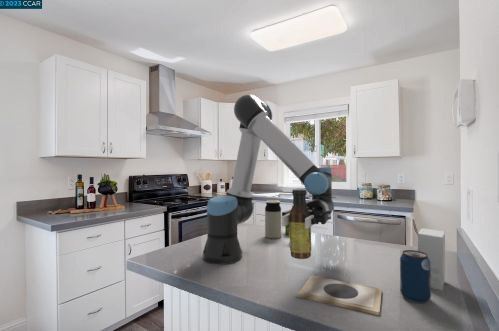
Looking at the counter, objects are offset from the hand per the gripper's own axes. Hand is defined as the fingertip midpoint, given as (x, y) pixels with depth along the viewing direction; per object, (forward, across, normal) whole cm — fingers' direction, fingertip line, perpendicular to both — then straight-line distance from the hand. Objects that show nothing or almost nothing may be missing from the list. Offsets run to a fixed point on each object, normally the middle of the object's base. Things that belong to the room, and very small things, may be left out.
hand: (294, 222), depth 76 cm
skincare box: (-25, -34, -20) cm, 47 cm away
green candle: (-65, +22, -20) cm, 71 cm away
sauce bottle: (-5, 0, -11) cm, 12 cm away
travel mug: (-53, +29, -20) cm, 64 cm away
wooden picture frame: (-5, -12, -20) cm, 23 cm away
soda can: (-12, -30, -20) cm, 38 cm away
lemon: (-48, +16, -20) cm, 54 cm away
